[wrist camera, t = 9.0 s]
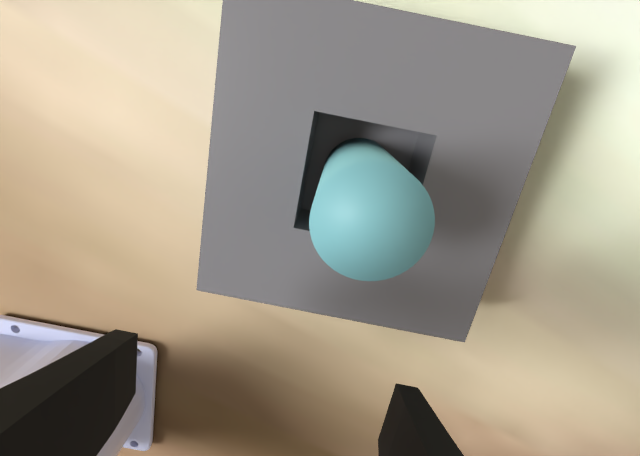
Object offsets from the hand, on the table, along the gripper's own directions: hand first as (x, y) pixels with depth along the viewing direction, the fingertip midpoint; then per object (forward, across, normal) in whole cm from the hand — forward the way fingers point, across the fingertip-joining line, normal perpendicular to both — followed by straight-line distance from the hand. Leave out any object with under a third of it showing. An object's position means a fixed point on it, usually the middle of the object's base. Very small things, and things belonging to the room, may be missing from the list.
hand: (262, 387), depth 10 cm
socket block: (+9, -2, -5) cm, 11 cm away
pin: (+9, -2, -5) cm, 10 cm away
